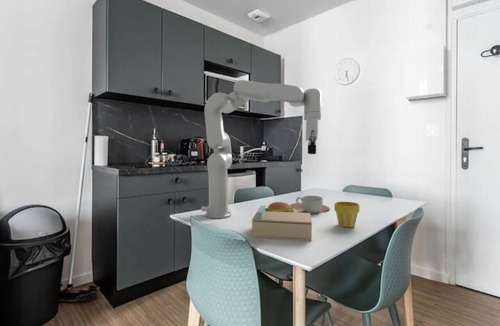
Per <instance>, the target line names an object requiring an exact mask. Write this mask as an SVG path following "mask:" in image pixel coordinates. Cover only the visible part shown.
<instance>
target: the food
mask: <svg viewBox="0 0 500 326" xmlns="http://www.w3.org/2000/svg"><path fill="white" fill-rule="evenodd" d="M266 211H274V212H295V210H294V209H293V208H292V207H291V205H290V204H288V202H282V201H277V202H276V201H275V202H272V203H270V204H269V205H268V206H267V207H266Z"/></svg>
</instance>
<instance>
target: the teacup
mask: <svg viewBox="0 0 500 326" xmlns="http://www.w3.org/2000/svg"><path fill="white" fill-rule="evenodd" d="M299 200H301V203H300V202H299ZM323 200H324V198H323V197H322V196H319V195H303V196H302V197H301V196H298V197H296V199H295V202H296V204H297V205H298V206H299V207H301V208H302V209H303V211H305V213H310V214H318V213H320V212H321V211H322V210H323V205H324V204H323V202H324V201H323Z"/></svg>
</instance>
